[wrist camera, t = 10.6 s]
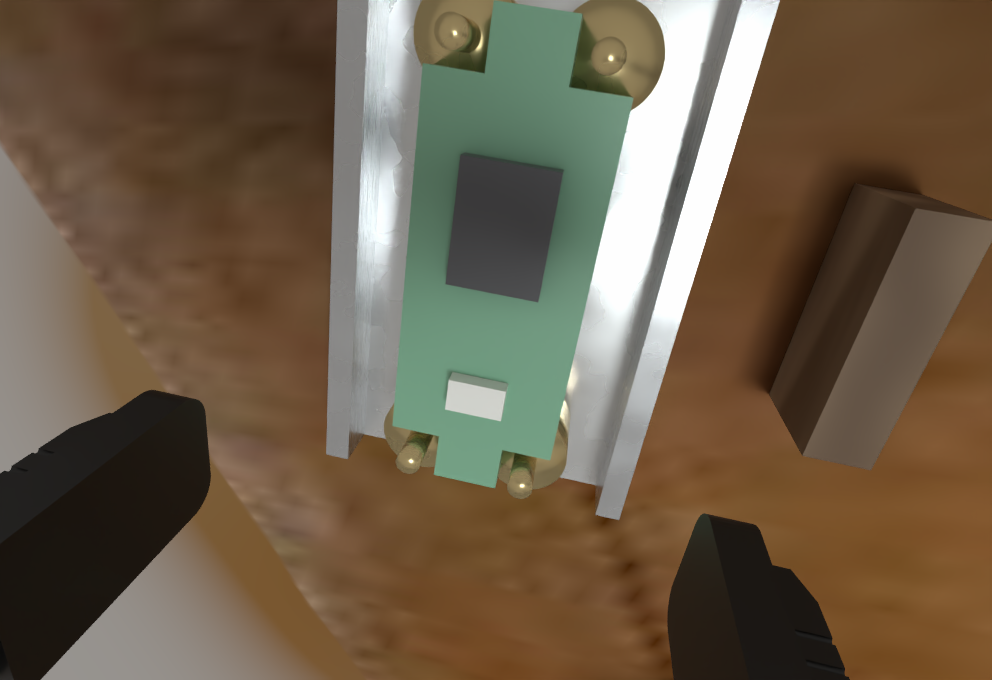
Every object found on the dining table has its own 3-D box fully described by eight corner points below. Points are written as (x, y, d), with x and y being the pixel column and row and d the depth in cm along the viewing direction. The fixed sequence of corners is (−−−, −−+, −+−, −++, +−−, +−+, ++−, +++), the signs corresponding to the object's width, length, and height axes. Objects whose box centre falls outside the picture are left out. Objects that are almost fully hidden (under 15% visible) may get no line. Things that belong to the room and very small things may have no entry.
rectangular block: (923, 194, 21) (1001, 222, 17) (826, 405, 25) (871, 470, 21) (854, 183, 21) (915, 208, 17) (769, 394, 25) (802, 455, 21)
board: (646, 28, 16) (652, 22, 15) (543, 479, 23) (540, 509, 21) (439, -5, 17) (422, -14, 15) (398, 446, 24) (383, 473, 22)
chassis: (758, -13, 19) (828, -53, 13) (616, 469, 28) (621, 574, 22) (380, -68, 20) (291, -128, 14) (356, 412, 29) (294, 498, 23)
